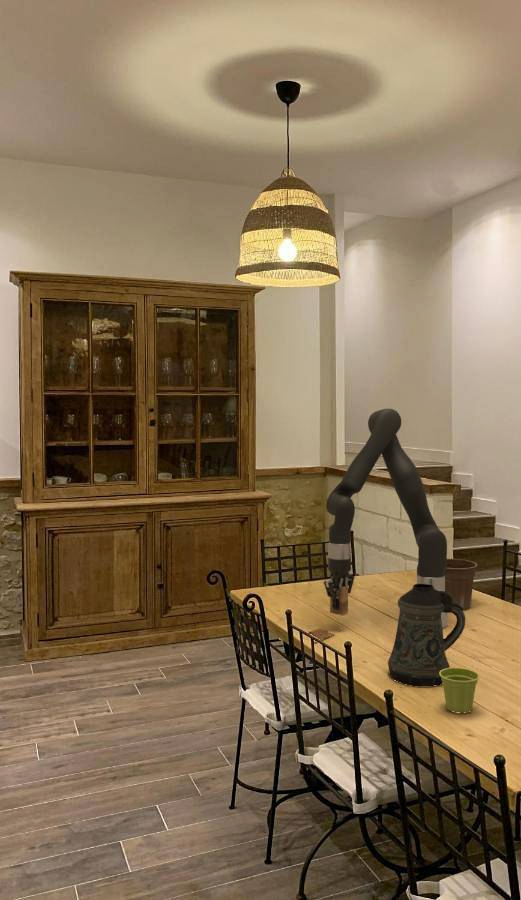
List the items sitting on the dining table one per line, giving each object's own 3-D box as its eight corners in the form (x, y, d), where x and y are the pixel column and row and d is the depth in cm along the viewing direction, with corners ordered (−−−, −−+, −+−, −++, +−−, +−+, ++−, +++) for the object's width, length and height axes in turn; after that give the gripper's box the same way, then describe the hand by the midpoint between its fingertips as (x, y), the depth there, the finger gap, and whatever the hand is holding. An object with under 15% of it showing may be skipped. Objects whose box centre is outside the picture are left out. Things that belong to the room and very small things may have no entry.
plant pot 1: (475, 614, 260) (476, 569, 259) (428, 610, 265) (429, 566, 264) (477, 602, 275) (478, 560, 274) (433, 599, 280) (433, 557, 279)
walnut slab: (347, 613, 240) (348, 586, 240) (342, 615, 238) (342, 588, 237) (335, 610, 244) (335, 583, 243) (330, 612, 241) (330, 585, 241)
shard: (315, 645, 228) (314, 639, 228) (295, 640, 233) (295, 635, 233) (335, 637, 236) (335, 631, 236) (316, 632, 241) (316, 627, 241)
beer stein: (376, 670, 205) (376, 581, 203) (435, 661, 212) (435, 575, 210) (409, 691, 189) (410, 595, 188) (471, 680, 196) (472, 588, 195)
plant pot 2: (436, 714, 175) (436, 678, 175) (441, 699, 184) (441, 665, 184) (477, 719, 172) (477, 683, 172) (480, 704, 181) (480, 669, 180)
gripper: (335, 561, 232) (335, 615, 233) (361, 554, 242) (361, 606, 243) (317, 557, 237) (316, 610, 238) (343, 551, 247) (342, 602, 248)
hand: (339, 608), depth 241 cm, fingers closed on walnut slab, 3 cm apart
